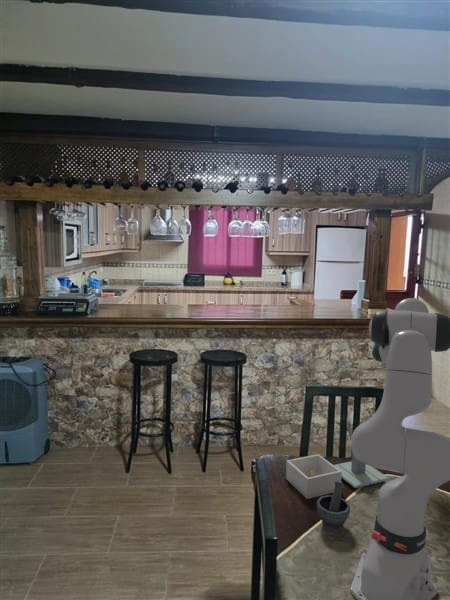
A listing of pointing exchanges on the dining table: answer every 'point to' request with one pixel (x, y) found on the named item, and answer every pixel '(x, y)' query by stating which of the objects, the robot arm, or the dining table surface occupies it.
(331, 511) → the mortar and pestle
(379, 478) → the lid
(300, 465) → the tub
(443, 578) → the dining table surface
